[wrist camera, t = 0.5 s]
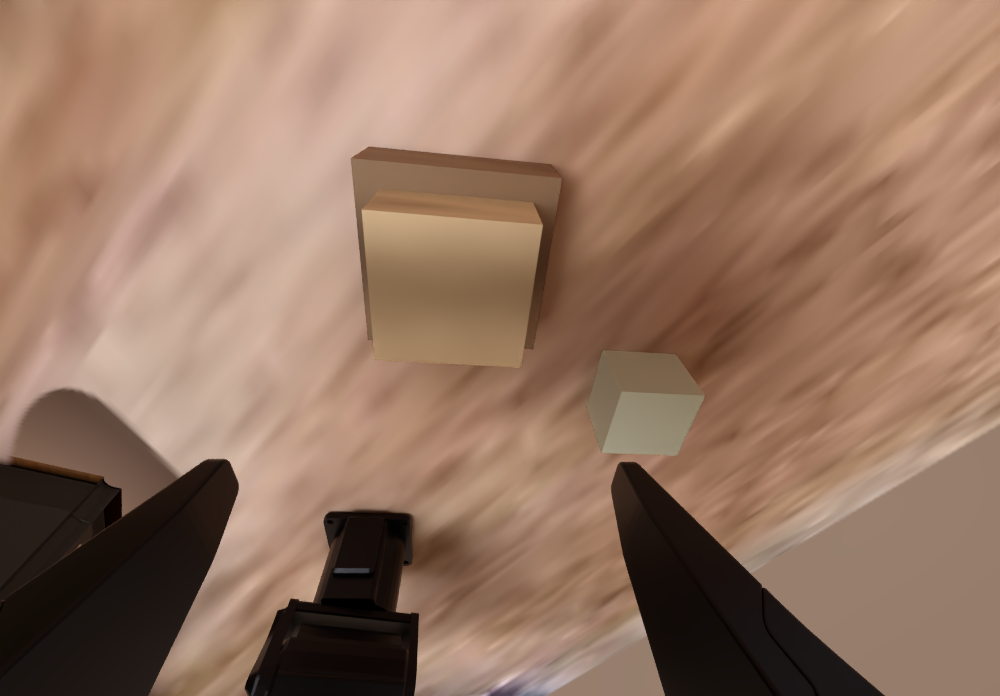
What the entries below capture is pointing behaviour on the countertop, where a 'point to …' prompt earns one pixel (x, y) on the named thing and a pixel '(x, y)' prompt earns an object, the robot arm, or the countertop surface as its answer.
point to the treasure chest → (48, 516)
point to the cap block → (642, 403)
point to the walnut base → (461, 180)
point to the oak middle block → (450, 277)
